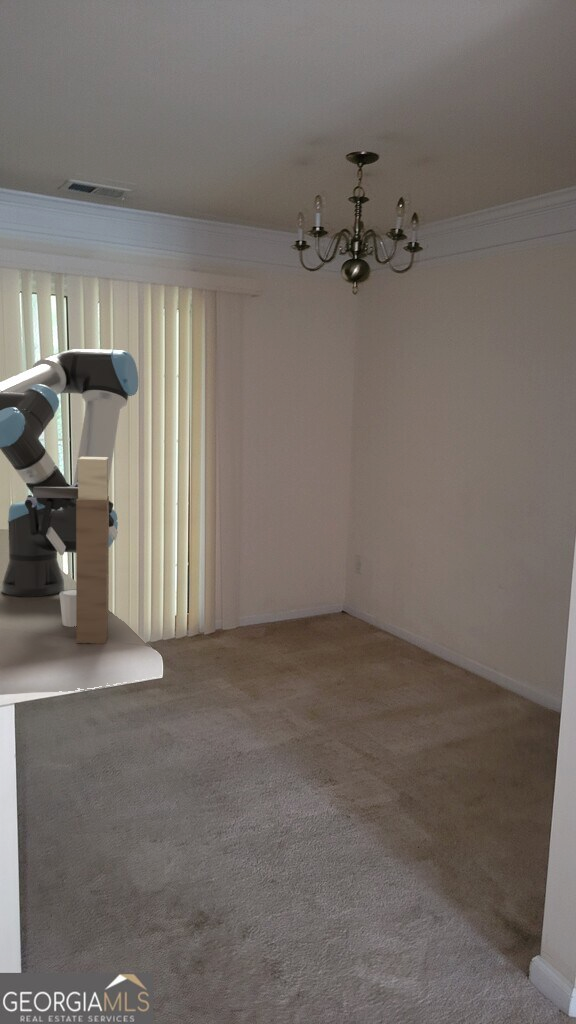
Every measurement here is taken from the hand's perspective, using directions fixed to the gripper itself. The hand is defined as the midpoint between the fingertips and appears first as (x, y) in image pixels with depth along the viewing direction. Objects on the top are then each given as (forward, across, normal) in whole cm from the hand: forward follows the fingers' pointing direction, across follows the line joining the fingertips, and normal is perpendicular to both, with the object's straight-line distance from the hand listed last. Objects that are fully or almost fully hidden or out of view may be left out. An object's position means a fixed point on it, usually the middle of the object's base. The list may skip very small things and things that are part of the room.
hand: (89, 543), depth 178 cm
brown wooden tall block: (+4, +5, -27) cm, 27 cm away
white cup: (+7, -3, -18) cm, 20 cm away
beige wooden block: (-21, +10, -12) cm, 26 cm away
